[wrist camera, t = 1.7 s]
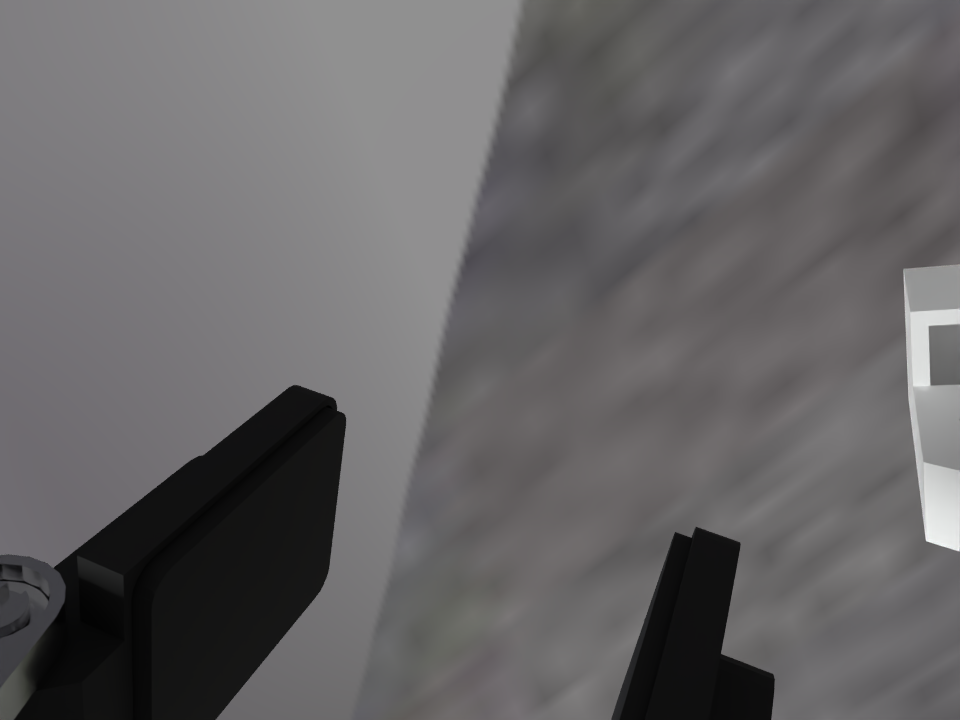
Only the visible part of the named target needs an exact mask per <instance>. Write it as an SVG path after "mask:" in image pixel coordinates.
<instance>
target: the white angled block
mask: <svg viewBox="0 0 960 720" xmlns="http://www.w3.org/2000/svg"><path fill="white" fill-rule="evenodd" d="M904 295H905V320H906V346H907V371H908V397H909V407H910V415H911V423H912V431H913V439H914V447H915V455H916V463H917V471H918V480H919V488H920V496H921V504H922V512H923V520H924V528H925V536H926V541H927V542H931V543H934V544H937V545H940V546H944V547H947V548H950V549H953V550H957V551H960V265H947V266H935V267H922V268H910V269H904Z"/></svg>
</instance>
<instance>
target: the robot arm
mask: <svg viewBox="0 0 960 720" xmlns="http://www.w3.org/2000/svg"><path fill="white" fill-rule="evenodd" d="M345 428H346V417H345V415H344V414H343V413H342V412H339V411H337V405H336V401H335V400H334V398H332V397H329V396H326V395H324V394H321V393H318V392H315V391H312V390H309V389H307V388H304V387H301V386H298V385H293V386H291V387H289V388H288V389H286V390H285V391H284V392H283V393H282V394H280V395H279V396H278V397H276V398H275V399H274V400H273V401H271V402H270V403H269V404H268V405H266V406H265V407H264V408H263V409H261V410H260V411H259V412H258V413H256V414H255V415H254V416H252V417H251V418H250V419H249V420H247V421H246V422H245V423H244V424H242V425H241V426H240V427H239V428H237V429H236V430H235V431H233V432H232V433H231V434H230V435H229V436H227V437H226V438H225V439H223V440H222V441H221V442H220V443H218V444H217V445H216V446H215V447H213V448H212V449H211V450H210V451H208V452H207V453H206V454H205V455H203V456H198V457H196V458H194V459H193V460H191V461H189V462H188V463H187V464H185V465H184V466H183V467H181V468H180V469H179V470H178V471H176V472H175V473H174V474H172V475H171V476H170V477H169V478H167V479H166V480H165V481H164V482H162V483H161V484H160V485H158V486H157V487H156V488H155V489H153V490H152V491H151V492H150V493H148V494H147V495H146V496H144V497H143V498H142V499H141V500H139V501H138V502H137V503H136V504H134V505H133V506H132V507H130V508H129V509H128V510H127V511H126V512H124V513H123V514H122V515H120V516H119V517H118V518H116V519H115V520H114V521H113V522H111V523H110V524H109V525H107V526H106V527H105V528H104V529H102V530H101V531H100V532H99V533H97V534H96V535H95V536H94V537H92V538H91V539H90V540H88V541H87V542H86V543H85V544H83V545H82V546H81V547H79V548H78V549H77V550H76V551H74V552H73V553H72V554H70V555H69V556H68V557H67V558H65V559H64V560H63V561H62V562H60V563H59V564H58V565H56V566H55V567H54V568H53V567H51V566H50V565H49V564H48V563H46V562H43V561H40V560H38V559H34V558H32V557H29V556H19V555H10V554H6V555H0V720H215V719H216V718H217V717H218V716H219V715H220V714H221V712H222V711H223V710H224V709H225V707H226V706H227V705H228V704H229V703H230V701H231V700H232V699H233V698H234V696H235V695H236V694H237V693H238V692H239V690H240V689H241V688H242V687H243V685H244V684H245V683H246V682H247V681H248V679H249V678H250V677H251V675H252V674H253V673H254V672H255V671H256V669H257V668H258V667H259V666H260V664H261V663H262V662H263V661H264V660H265V658H266V657H267V656H268V655H269V653H270V652H271V651H272V650H273V649H274V647H275V646H276V645H277V644H278V643H279V641H280V640H281V639H282V638H283V636H284V635H285V634H286V633H287V632H288V630H289V629H290V628H291V627H292V625H293V624H294V623H295V622H296V620H297V619H298V618H299V617H300V616H301V614H302V613H303V612H304V611H305V610H306V608H307V607H308V606H309V605H310V603H311V602H312V601H313V600H314V599H315V597H316V596H317V595H318V593H319V592H320V590H321V588H322V587H323V585H324V582H325V580H326V577H327V574H328V570H329V565H330V555H331V547H332V538H333V530H334V522H335V513H336V505H337V496H338V488H339V487H338V486H339V479H340V471H341V462H342V453H343V445H344V437H345ZM740 545H741V544H740V542H737V541H734V540H732V539H729V538H726V537H723V536H720V535H718V534H715V533H712V532H709V531H706V530H704V529H701V528H698V527H696V528H695V530H694V533H693V535H692V538H690V537H687V536H685V535H682V534H679V533H676V532H675V534H674V536H673V539H672V542H671V545H670V548H669V551H668V554H667V557H666V560H665V562H664V565H663V568H662V571H661V574H660V577H659V580H658V583H657V586H656V589H655V592H654V595H653V598H652V600H651V603H650V606H649V609H648V612H647V615H646V618H645V621H644V624H643V627H642V630H641V633H640V636H639V638H638V641H637V644H636V647H635V650H634V653H633V656H632V659H631V662H630V665H629V668H628V671H627V674H626V676H625V679H624V682H623V685H622V688H621V691H620V694H619V697H618V700H617V703H616V706H615V710H614V713H613V716H612V719H611V720H771V716H772V707H773V697H774V682H775V679H774V675H773V674H771V673H769V672H766V671H764V670H761V669H758V668H756V667H753V666H751V665H748V664H746V663H743V662H740V661H738V660H735V659H733V658H730V657H727V656H725V655H722V654H721V650H722V644H723V639H724V633H725V628H726V623H727V617H728V612H729V606H730V601H731V595H732V590H733V584H734V579H735V573H736V568H737V562H738V557H739V551H740Z"/></svg>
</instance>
